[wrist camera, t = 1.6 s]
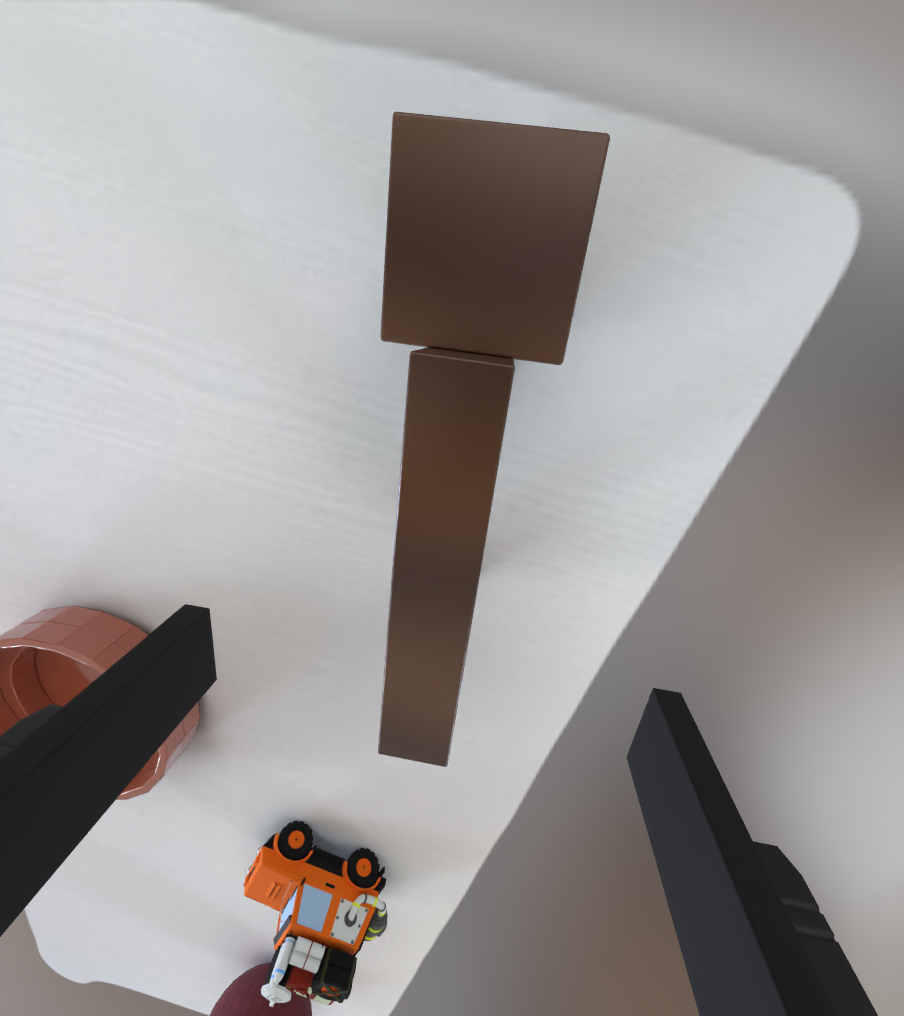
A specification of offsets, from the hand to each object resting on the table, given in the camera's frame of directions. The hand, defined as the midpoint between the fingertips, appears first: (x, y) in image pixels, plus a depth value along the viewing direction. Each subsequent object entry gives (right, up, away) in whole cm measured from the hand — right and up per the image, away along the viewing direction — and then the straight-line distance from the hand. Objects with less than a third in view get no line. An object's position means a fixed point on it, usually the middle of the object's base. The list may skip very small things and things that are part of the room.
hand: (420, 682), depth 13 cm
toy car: (-9, -25, +25) cm, 36 cm away
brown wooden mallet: (+2, +9, +10) cm, 14 cm away
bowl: (-24, -8, +20) cm, 32 cm away
